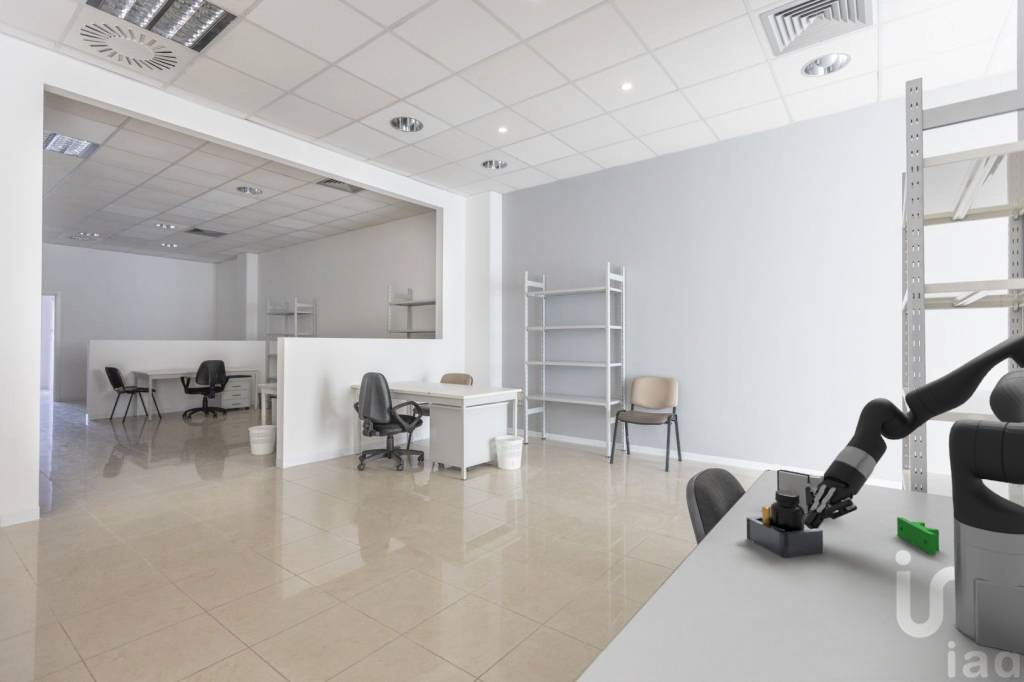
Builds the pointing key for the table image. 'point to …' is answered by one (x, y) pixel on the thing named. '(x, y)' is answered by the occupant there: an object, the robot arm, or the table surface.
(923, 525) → the pipe clamp
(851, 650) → the table surface
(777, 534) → the keeper cradle
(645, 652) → the table surface
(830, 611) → the table surface
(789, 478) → the hinge
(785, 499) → the supplement bottle
